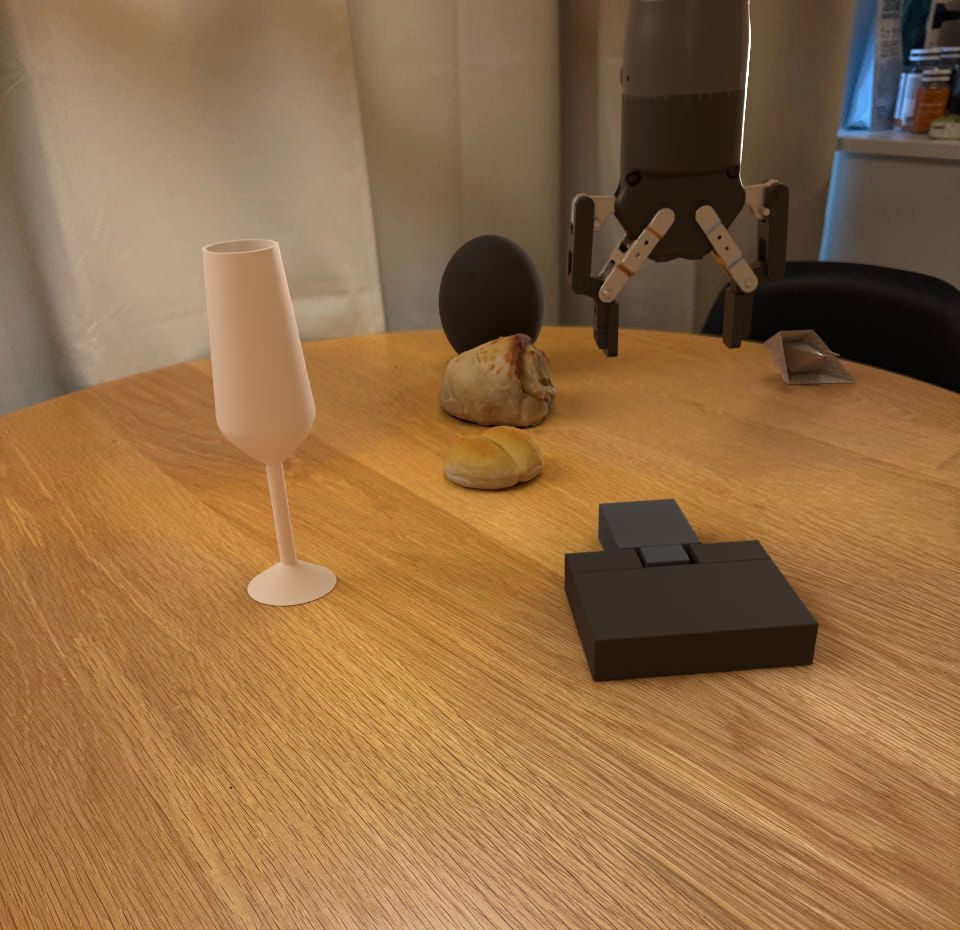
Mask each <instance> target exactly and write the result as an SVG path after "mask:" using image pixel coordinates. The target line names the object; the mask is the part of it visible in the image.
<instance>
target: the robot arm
mask: <svg viewBox="0 0 960 930" xmlns="http://www.w3.org/2000/svg"><path fill="white" fill-rule="evenodd" d="M626 8H627V9H626V10H627V11H626V17H625V18H626V19H625V25H624V32H623V39H622V52H621V53H622V55H621V56H622V58H621V59H622V60H621V67H620V70H619V83H620V87H621V104H620V106H621V109H620V154H619V155H620V158H619V160H620V161H619V179H618V180H619V181H618V184H617V187H616V190H615V192H614V193H613V194H612V195H588V194H587V193H585V192H584V191H581V190H579V191H576V192H574V193H573V194H572V195H571V197H570V198H569V199H570V201H569V214H568V216H569V217H568V233H567V235H568V236H567V238H568V239H567V256H566V273H565V274H566V276H565V280H566V283H567V284H568V285H569V287H570V288H571V290H572V292H573V293H574V294H576V295H578V296H582V295H583V296H586V297H589V298H591V299H592V300H593V329H592V330H593V331H592V332H593V334H592V336H593V337H592V338H593V339H594V343H595V345H596V346H597V349H599V350H602V353H603V355H604V356H605V357H606V359H607V358H608V359H609V358H617V357H618V356H619V325H620V324H619V323H620V322H619V320H620V319H619V317H620V303H619V300H617V299H616V298H617V296H618V295H619V294H620V292H621V291H622V290H623V288H624V287H625V285H626V284H627V283H628V281H629V280H630V278H631V277H633V276H634V275H635V274H637V272H638V271H639V270H640V268H641V267H642V265H643V264H644V263H645V261H646V260H647V259H648V260H650V261H653V262H654V263H657V264H659V263H668V262H671V261H675V260H676V259H684V260H689V261H701V260H704V257H705V256H708V255H709V254H710V255H711V256H712V258H714V260H715V261H716V262H717V263H718V265H719V266H720V267H721V269H722V271H723V272H724V274H725V275H726V276H727V278H728V279H729V281H730V285H729V287H725V295H724V309H723V319H722V320H723V323H722V334H721V338H722V343H723V345H724V346H725V347H726V348H728V349H729V350H733V349H741V347H742V340H747V339H748V338H749V335H750V333H751V330H752V316H753V309H754V307H753V306H754V296H755V293H756V291H757V289H758V288H759V287H760V286H762V285H764V284H768V283H769V282H771V281H773V282H778V281H780V280H782V279H783V278H784V276H785V275H786V270H787V268H786V267H787V249H788V248H787V247H788V229H789V227H788V226H789V203H790V189H789V187H788V186H787V185H786V184H784V183H783V182H781V181H778V180H775V179H772V178H766V179H764V180H763V181H761V182H760V183H757V184H749V185H743V183H742V180H741V166H742V155H743V153H742V152H743V141H744V129H745V115H746V102H747V92H748V91H747V89H748V77H749V65H750V64H749V63H750V51H751V17H750V0H628V1H627V7H626ZM745 204H746V205H747V206H748V207H749V213H750V215H751V217H753V218H754V219H757V226H756V228H757V231H756V260H755V261H752V262H750V263H748V262H747V260H746V258H745V257H744V254H743V253H742V250H741V249H740V248H739V246H738V245H737V243H736V242H735V241H734V238H733V237H732V236H731V234H730V233H729V231H728V230H729V228H730V227H731V226H732V224H733V222H735V220H736V218H737V217H738V216H739V214H740V213H741V211H742V210H743V208H744V206H745ZM611 214H613V215H614V217H615V219H616V220H617V221H618V223H619V224H620V226H621V228H623V230H624V234H623V235H622V236H621V238H620V239H619V241H618V242H617V243H616V245H615V246H614V248H613V249H612V251H611V253H610V254H609V258H608V260H607V261H606V263H605V264H604V266H603V267H602V269H601V270H600V271H599V273H598V274H597V275H596V274H593V273H592V259H593V245H594V233H597V232H599V231H601V230H602V229H603V227H604V224H605V220H606V219H607V217H608V216H610V215H611Z"/></svg>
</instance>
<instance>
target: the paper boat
mask: <svg viewBox="0 0 960 930" xmlns="http://www.w3.org/2000/svg"><path fill="white" fill-rule="evenodd" d="M763 344H764V345H765V348H766V349H767V351H768V353H769V355H770V357H771V359H772V361H773V363H774V365H775V367H776V369H777V370H778V372H779V374H780V376H781V378H782V380H783V382H785V383H786V384H788V385H811V384H843V383H857V380H856V379H855V378H854V377H853V376H852V374H851V373H850V372H849V371H848V369H847V368H846V367H845V366H844V365H843V364H842V363H841V361H840V360H839V358H837V357H841V354H839V353H836V352H834V351H832V350H831V349H830V348H829V347H828V346H827V344H826V343H825V342H824V341H823V339H822V338H821V337H820V336H819V334H817V332H816V331H815V330H814V329H796V330H780V331H778V332H776V333H775V334H774V335H773V336H771V337H770V338H768V339H767V340H766V341H764V342H763Z"/></svg>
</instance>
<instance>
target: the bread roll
mask: <svg viewBox="0 0 960 930" xmlns="http://www.w3.org/2000/svg"><path fill="white" fill-rule="evenodd" d="M542 454H543V453H542V451H541V449H540V447H539V444H538V443H537V442H536V440H535V439H534V438H533V437H532V435H530V434H529V433H527V432H526V431H524V430H523V429H520V428H519V427H518V428H517V427H510V426H500V425H496V426H493V427H491V428H488V429H486V431H484V432H483V433H482V434H481V435H464V436H463V435H462V436H460V437H458V438H456V439H454V440H453V441H451V443H449V445H448V446H447V448H446V449H445V451H444V454H443V456H442V467H443V471H444V473H445V475H446V477H447V479H448V480H449V481H451V482H452V483H454V484H456V485H459V486H462V487H465V488H470V489H480V490H481V489H482V490H501V489H505V488H509V487H512V486H514V485H516V484H518V483H526V482H528V481H531V480H532V479H534V478H535V477H537V476H538V475H540V473H541V472H542V471H543V470H544V467H545V463H544V458H543V455H542Z"/></svg>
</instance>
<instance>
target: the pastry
mask: <svg viewBox="0 0 960 930" xmlns="http://www.w3.org/2000/svg"><path fill="white" fill-rule="evenodd" d="M551 375H552V370H551V366H550V362H549V359H548V356H547V355H546V353H545V351H544V350H542V349H540V348H539V347H538V346H537V345H535V344H534V343H533V341H532V339H531V338H530V337H528V336H527V335H525V334H515V335H512V336H509V337H499V338H498V339H496V340H493V341H490V342H487V343H485V344H482V345H480V346H478V347H476V348H474V349H471V350H469V351H465V352H463V353H462V354H460V355H458V356H454V357H453V358H451V359H450V360H449V363H448V364H447V365H446V369H445V372H444V374H443V378H442V384H441V387H440V390H439V393H438V404H439V409H440V410H441V411H444V412H446V414H447V415H450V416H454V417H457V419H459V420H461V419H462V420H464V421H468V422H471V423H476V425H480V426H483V427H485V426H510V427H515V428H517V427H528V426H531V427H534V426H537V425H539V424H540V423H541V422H543V420H546V418H547V417H548V415H549V410H550V409H551V408H552V402H553V401H554V400H555V399H556V396H557V393H558V392H557V388H556V386H555V383H554V381H553V380H552V379H551Z"/></svg>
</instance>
